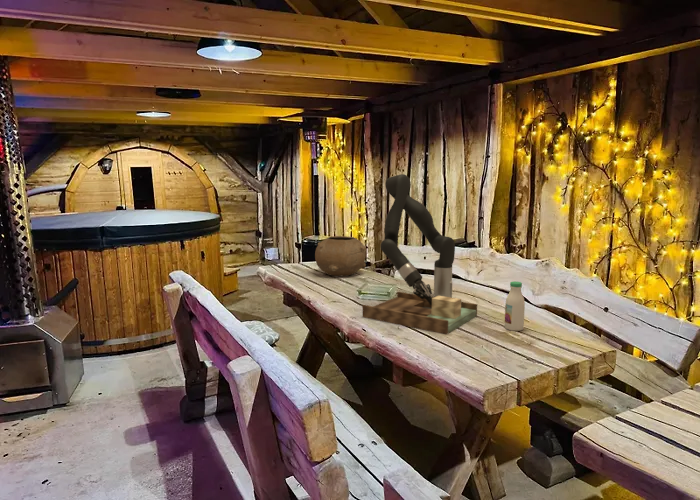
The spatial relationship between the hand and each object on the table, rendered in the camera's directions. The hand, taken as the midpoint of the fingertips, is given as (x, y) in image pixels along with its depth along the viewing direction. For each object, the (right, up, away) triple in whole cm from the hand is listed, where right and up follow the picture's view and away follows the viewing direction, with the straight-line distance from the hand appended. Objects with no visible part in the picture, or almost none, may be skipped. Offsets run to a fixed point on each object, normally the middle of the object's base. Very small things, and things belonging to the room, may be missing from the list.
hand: (433, 304), depth 213 cm
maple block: (+5, -5, -4) cm, 8 cm away
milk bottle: (+32, -9, -13) cm, 35 cm away
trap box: (-5, -6, +5) cm, 10 cm away
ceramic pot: (-44, +8, +101) cm, 111 cm away
